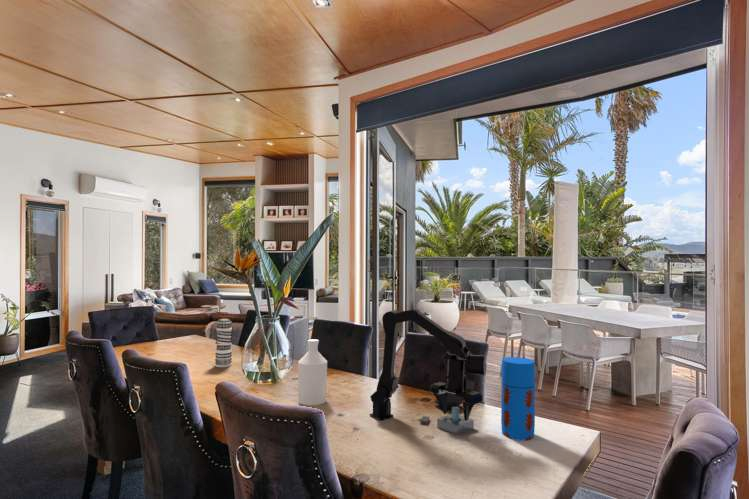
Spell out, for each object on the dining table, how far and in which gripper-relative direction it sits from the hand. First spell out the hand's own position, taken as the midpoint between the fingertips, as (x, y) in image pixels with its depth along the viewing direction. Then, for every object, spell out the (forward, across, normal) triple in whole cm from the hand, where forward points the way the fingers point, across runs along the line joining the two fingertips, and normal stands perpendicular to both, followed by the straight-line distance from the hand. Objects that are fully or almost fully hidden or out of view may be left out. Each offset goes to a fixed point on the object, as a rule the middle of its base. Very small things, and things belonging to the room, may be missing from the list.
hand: (455, 417), depth 159 cm
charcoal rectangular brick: (+4, +11, +4) cm, 12 cm away
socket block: (+4, 0, 0) cm, 4 cm away
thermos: (+4, -18, -12) cm, 21 cm away
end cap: (+4, +16, -16) cm, 23 cm away
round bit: (+4, 0, 0) cm, 4 cm away
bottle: (+4, +57, +20) cm, 61 cm away
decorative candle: (+4, +139, +22) cm, 141 cm away
